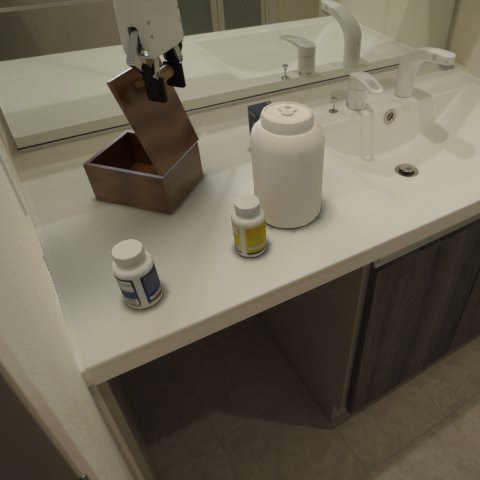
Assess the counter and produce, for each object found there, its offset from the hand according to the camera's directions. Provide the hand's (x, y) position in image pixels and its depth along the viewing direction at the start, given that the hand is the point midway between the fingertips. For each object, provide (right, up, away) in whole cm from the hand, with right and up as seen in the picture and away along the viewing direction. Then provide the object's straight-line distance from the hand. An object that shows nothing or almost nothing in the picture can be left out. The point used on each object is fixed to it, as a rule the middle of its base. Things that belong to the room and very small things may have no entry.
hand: (167, 92), depth 68 cm
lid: (-3, -3, +3) cm, 5 cm away
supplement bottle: (+13, -26, +3) cm, 29 cm away
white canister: (+19, -18, +11) cm, 29 cm away
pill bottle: (-1, -33, -6) cm, 33 cm away
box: (+13, -5, +26) cm, 30 cm away
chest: (-9, -14, +15) cm, 22 cm away
